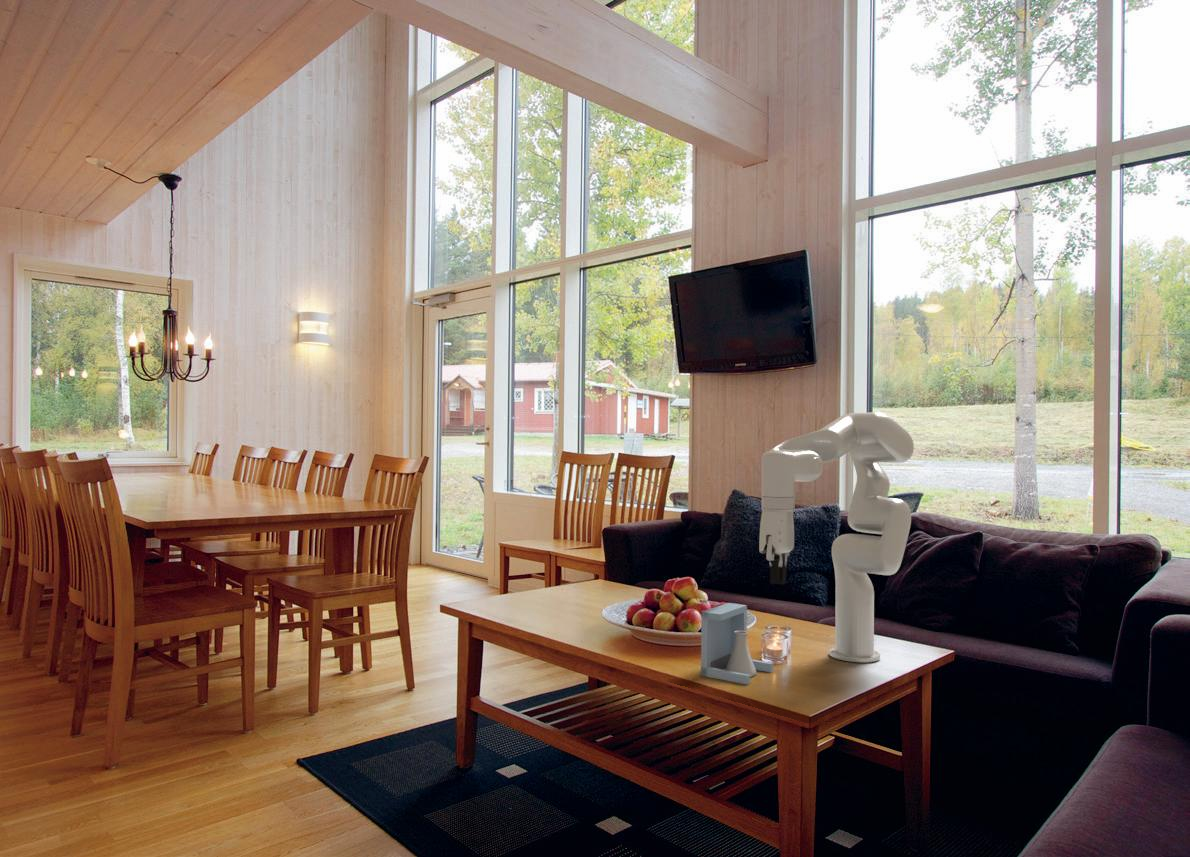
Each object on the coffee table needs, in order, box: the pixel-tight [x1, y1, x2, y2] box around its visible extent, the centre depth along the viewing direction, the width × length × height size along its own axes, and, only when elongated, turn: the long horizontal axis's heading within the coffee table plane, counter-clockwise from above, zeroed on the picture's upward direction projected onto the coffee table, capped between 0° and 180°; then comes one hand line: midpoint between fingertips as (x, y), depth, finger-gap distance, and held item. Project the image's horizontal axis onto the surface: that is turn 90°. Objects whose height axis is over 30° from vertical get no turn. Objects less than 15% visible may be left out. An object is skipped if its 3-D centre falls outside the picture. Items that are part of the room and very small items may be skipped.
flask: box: [724, 631, 758, 678], centre depth 193 cm, size 7×7×10 cm
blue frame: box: [700, 602, 774, 686], centre depth 194 cm, size 14×12×15 cm
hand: (778, 583), depth 188 cm, fingers closed
